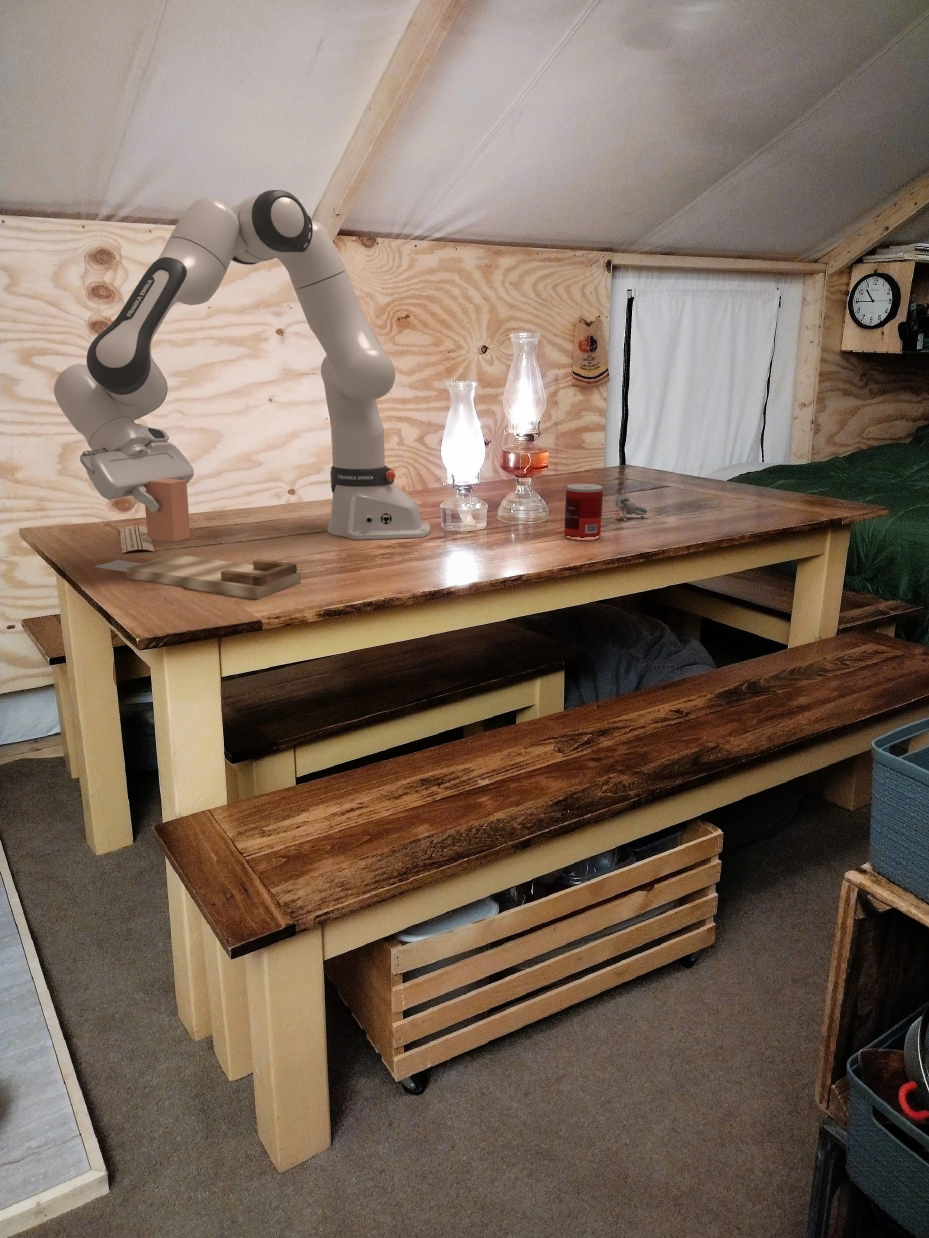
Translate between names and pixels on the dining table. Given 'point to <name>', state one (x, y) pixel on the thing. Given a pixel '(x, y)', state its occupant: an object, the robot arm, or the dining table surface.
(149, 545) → the newspaper
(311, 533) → the dining table surface
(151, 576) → the rail deck
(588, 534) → the canned food
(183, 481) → the block
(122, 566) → the plate
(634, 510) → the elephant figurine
